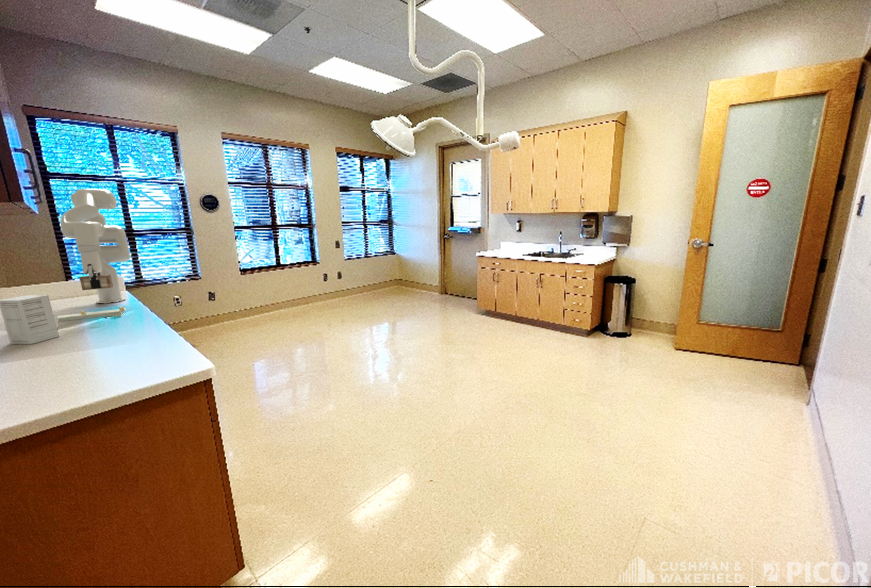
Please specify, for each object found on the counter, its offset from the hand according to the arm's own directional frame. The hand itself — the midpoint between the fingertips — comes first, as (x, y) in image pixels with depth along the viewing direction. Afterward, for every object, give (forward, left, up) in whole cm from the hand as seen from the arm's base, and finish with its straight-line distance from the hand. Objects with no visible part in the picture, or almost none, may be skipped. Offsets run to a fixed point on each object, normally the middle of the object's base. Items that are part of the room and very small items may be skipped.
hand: (97, 287), depth 165 cm
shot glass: (+19, -14, -14) cm, 27 cm away
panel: (0, -6, -14) cm, 15 cm away
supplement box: (+33, -14, -14) cm, 38 cm away
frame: (0, 0, -1) cm, 1 cm away
